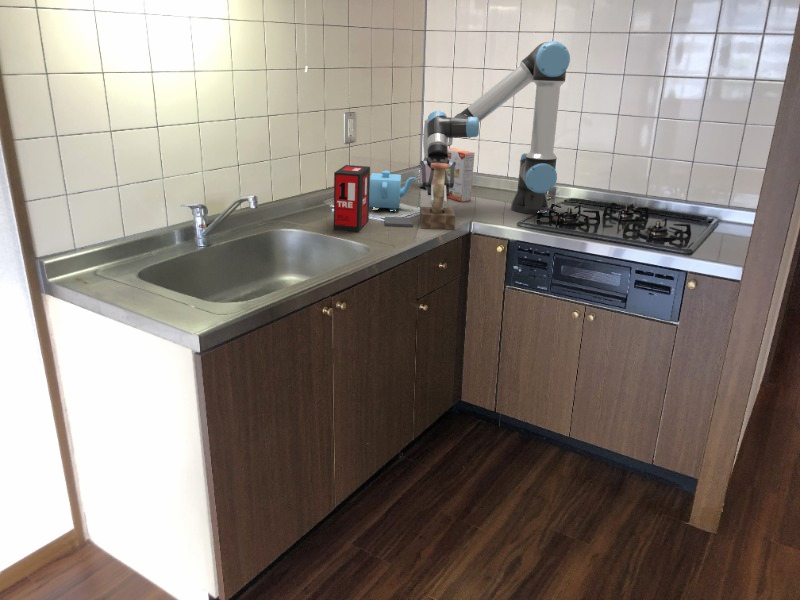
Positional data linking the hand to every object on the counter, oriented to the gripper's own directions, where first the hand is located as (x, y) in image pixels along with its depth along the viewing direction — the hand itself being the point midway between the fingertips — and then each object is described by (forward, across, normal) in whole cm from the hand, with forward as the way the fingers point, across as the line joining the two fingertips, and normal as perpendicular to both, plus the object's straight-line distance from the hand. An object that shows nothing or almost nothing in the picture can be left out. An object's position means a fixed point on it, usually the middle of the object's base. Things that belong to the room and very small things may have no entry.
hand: (438, 202), depth 234 cm
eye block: (+4, 0, -9) cm, 10 cm away
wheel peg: (+3, 0, -8) cm, 9 cm away
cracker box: (-29, -12, -43) cm, 53 cm away
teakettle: (-13, +19, -26) cm, 35 cm away
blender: (-45, -5, -58) cm, 74 cm away
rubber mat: (+4, +14, -9) cm, 17 cm away
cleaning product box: (+8, +31, -5) cm, 32 cm away
